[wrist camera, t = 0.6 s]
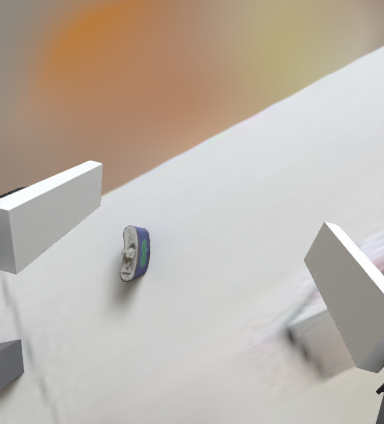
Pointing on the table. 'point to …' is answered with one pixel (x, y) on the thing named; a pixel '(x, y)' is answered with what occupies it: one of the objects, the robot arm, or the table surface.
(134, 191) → the table surface
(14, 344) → the die
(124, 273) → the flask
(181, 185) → the table surface
